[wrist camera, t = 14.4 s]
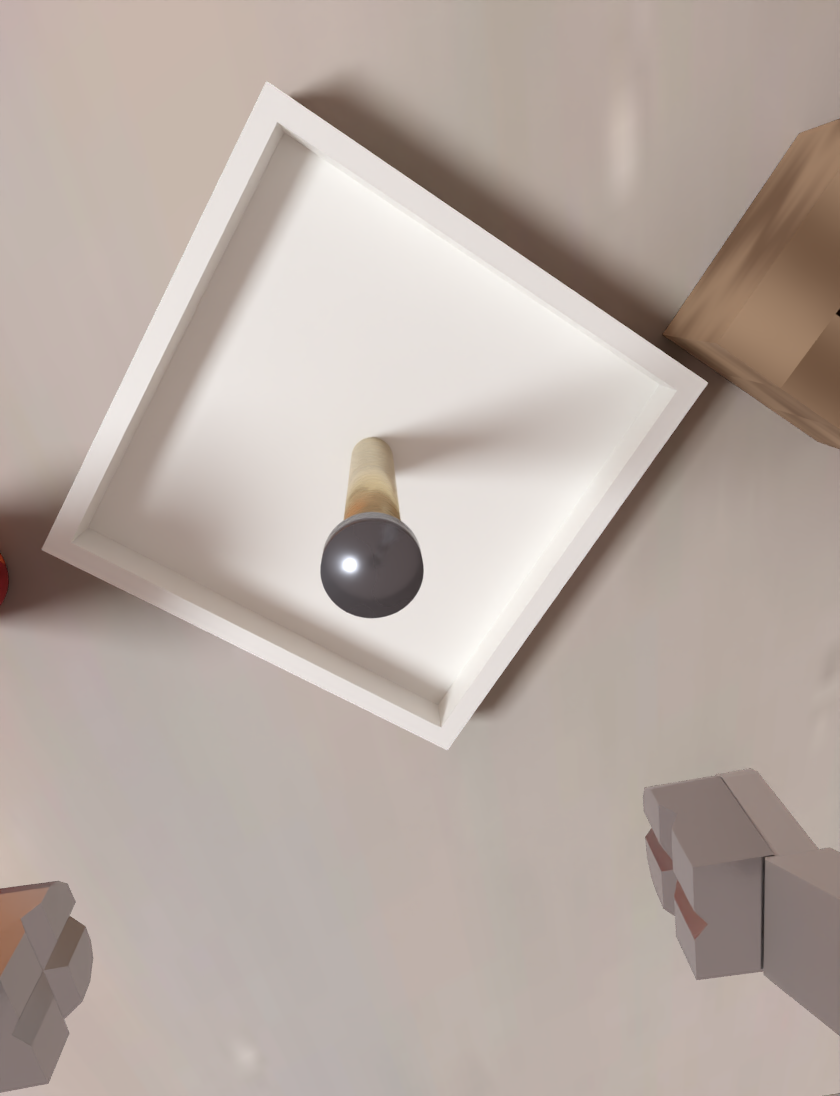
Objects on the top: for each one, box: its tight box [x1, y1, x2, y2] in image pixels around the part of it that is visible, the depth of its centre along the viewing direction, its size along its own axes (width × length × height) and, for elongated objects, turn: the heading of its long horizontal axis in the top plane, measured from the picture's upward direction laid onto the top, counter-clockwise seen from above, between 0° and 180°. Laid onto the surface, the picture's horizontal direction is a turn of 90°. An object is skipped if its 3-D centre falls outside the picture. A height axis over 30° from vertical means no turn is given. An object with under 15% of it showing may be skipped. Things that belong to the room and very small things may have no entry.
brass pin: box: [320, 437, 424, 618], centre depth 29 cm, size 3×3×15 cm
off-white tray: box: [41, 81, 708, 750], centre depth 35 cm, size 22×22×3 cm
